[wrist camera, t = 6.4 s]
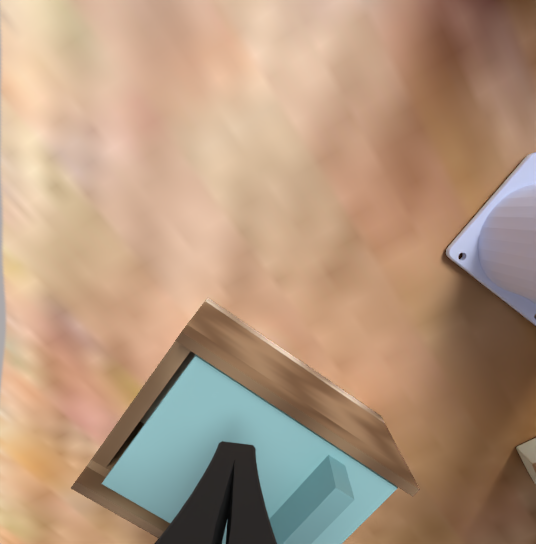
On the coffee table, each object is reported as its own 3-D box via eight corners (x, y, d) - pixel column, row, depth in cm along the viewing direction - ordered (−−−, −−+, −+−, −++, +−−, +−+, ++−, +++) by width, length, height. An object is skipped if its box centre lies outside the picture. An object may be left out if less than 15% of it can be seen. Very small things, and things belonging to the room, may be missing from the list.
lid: (393, 478, 17) (413, 524, 15) (291, 581, 19) (293, 638, 17) (198, 350, 16) (184, 377, 13) (107, 474, 18) (79, 519, 15)
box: (381, 416, 22) (419, 489, 16) (287, 516, 24) (291, 613, 18) (207, 297, 21) (181, 331, 15) (123, 416, 23) (70, 488, 17)
